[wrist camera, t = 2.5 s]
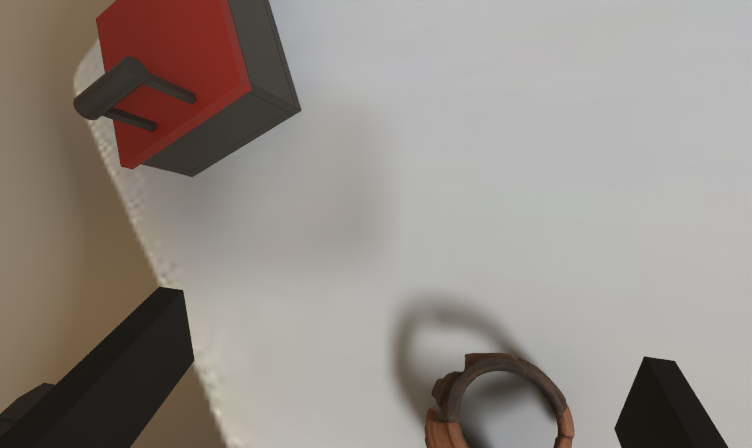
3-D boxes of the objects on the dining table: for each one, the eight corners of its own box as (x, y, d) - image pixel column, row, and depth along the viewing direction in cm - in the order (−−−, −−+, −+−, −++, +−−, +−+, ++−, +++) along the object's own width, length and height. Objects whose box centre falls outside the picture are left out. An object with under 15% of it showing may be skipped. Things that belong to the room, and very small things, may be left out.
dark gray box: (301, 110, 43) (250, 82, 37) (192, 177, 48) (131, 162, 42) (262, -21, 47) (210, -67, 41) (166, 54, 53) (107, 24, 46)
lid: (252, 90, 36) (170, 46, 29) (132, 169, 42) (41, 148, 35) (210, -67, 41) (130, -137, 34) (107, 24, 46) (21, -20, 39)
